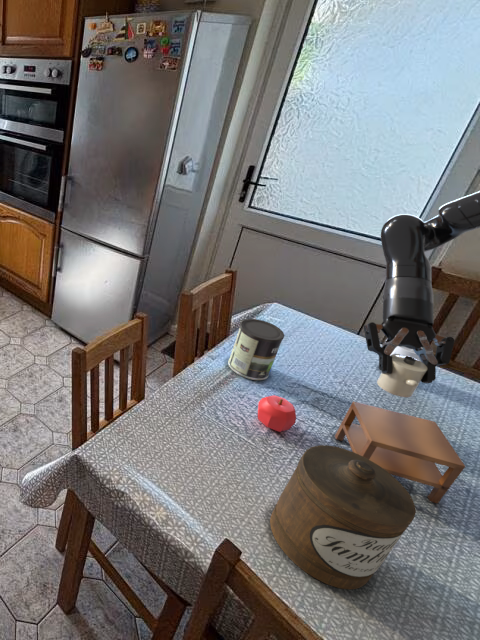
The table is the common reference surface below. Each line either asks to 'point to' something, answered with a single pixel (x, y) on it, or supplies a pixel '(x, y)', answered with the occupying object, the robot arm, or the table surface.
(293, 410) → the apple
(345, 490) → the wooden container
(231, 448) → the table surface
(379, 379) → the kettle
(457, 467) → the stand
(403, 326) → the robot arm
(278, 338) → the coffee can
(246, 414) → the table surface
